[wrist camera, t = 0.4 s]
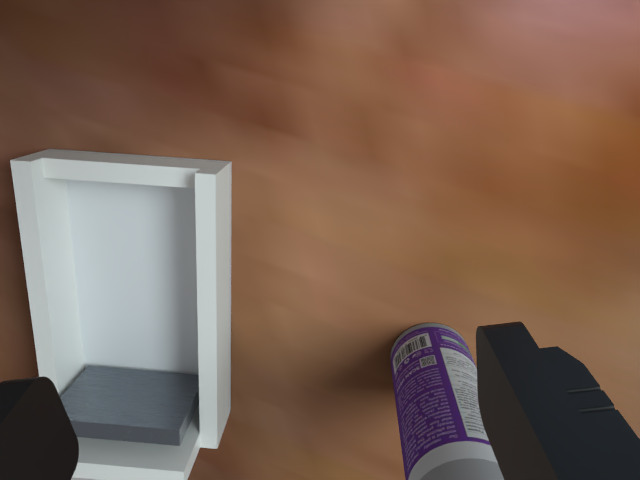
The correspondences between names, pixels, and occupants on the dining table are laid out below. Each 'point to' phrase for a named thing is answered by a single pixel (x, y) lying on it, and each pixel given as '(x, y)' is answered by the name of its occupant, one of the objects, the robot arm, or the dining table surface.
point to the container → (439, 407)
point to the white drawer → (130, 285)
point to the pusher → (132, 404)
